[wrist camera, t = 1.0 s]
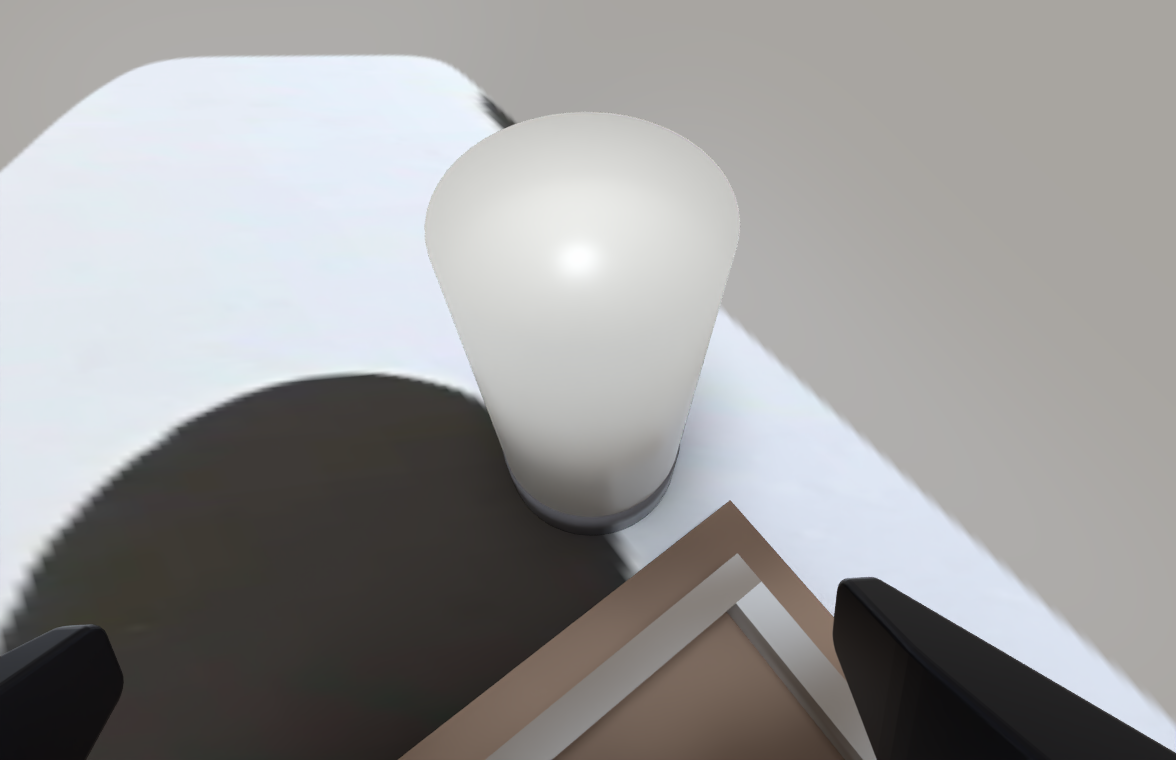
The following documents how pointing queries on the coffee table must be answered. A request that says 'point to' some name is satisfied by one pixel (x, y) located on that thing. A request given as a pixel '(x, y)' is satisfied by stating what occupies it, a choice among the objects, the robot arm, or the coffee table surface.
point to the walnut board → (676, 669)
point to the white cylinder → (585, 302)
